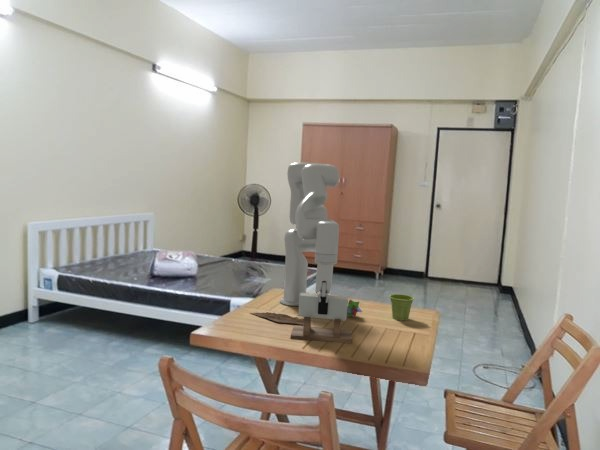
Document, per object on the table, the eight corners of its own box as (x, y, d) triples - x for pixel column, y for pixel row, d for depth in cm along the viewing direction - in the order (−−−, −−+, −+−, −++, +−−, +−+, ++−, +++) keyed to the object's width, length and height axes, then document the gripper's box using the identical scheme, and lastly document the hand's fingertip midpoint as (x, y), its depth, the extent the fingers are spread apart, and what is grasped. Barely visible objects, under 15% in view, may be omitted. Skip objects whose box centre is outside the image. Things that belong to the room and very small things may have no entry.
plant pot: (406, 323, 180) (407, 301, 180) (383, 318, 186) (385, 296, 185) (416, 318, 188) (418, 297, 187) (394, 313, 194) (396, 293, 193)
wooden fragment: (317, 323, 176) (317, 320, 176) (302, 330, 166) (302, 327, 166) (260, 310, 189) (260, 308, 189) (243, 316, 179) (243, 313, 179)
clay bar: (300, 312, 163) (301, 292, 163) (346, 317, 161) (348, 297, 160) (298, 315, 159) (299, 295, 159) (345, 320, 157) (347, 299, 156)
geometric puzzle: (366, 314, 182) (361, 295, 186) (350, 315, 179) (346, 296, 183) (358, 321, 187) (354, 302, 191) (343, 322, 185) (338, 303, 189)
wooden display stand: (293, 328, 167) (294, 308, 166) (350, 332, 165) (352, 313, 165) (290, 338, 156) (291, 317, 155) (351, 343, 154) (353, 322, 154)
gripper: (315, 254, 167) (312, 305, 169) (313, 261, 150) (310, 318, 152) (337, 255, 166) (334, 306, 168) (337, 263, 150) (333, 320, 151)
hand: (322, 311), depth 160 cm, fingers closed on clay bar, 4 cm apart
